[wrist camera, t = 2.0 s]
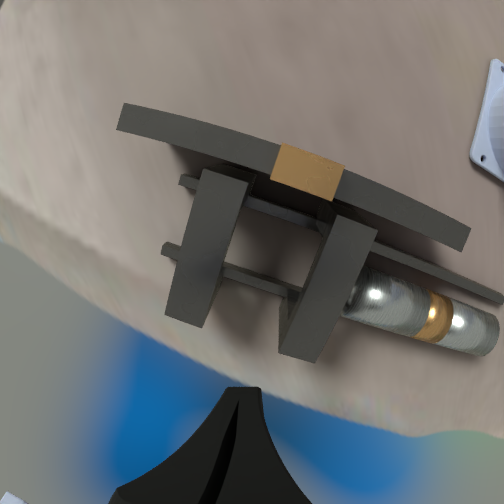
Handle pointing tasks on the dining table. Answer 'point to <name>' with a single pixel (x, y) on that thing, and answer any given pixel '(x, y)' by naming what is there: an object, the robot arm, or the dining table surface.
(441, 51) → the dining table surface
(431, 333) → the tube
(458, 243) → the collar fixture
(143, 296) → the dining table surface
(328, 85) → the dining table surface
